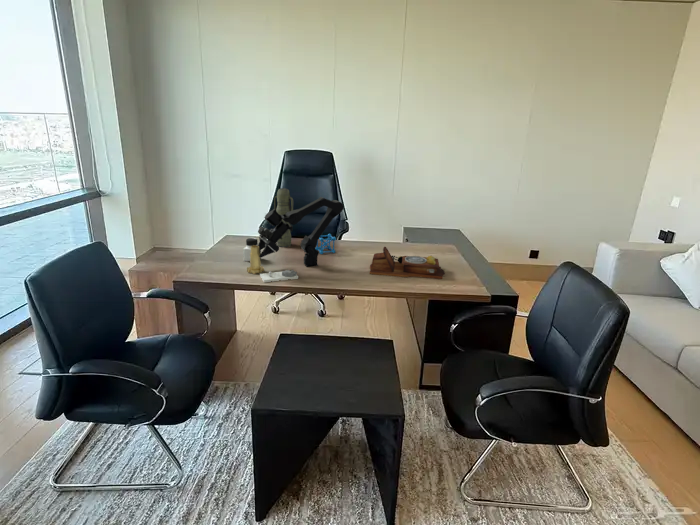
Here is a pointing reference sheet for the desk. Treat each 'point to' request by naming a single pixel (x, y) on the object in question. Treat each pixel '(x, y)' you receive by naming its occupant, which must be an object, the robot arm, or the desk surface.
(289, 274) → the gear board
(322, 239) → the molecular structure
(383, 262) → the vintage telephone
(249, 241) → the white pill bottle
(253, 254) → the yellow octagonal tube
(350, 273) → the desk surface
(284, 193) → the thermos
